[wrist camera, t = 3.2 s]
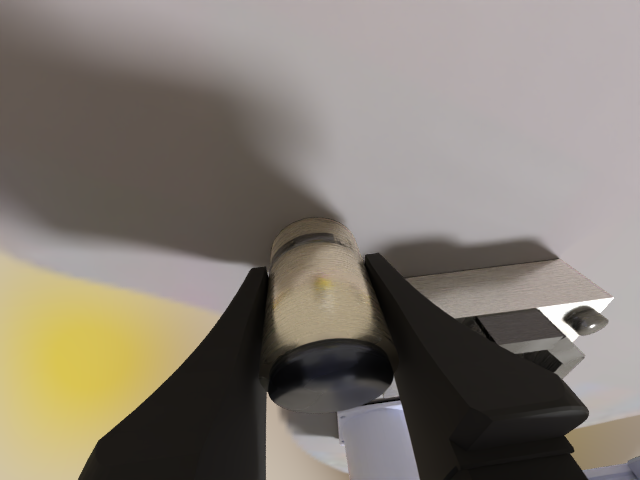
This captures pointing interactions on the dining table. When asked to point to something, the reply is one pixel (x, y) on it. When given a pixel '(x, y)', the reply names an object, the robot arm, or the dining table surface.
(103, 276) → the dining table surface
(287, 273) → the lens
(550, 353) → the white knob box
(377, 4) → the dining table surface
